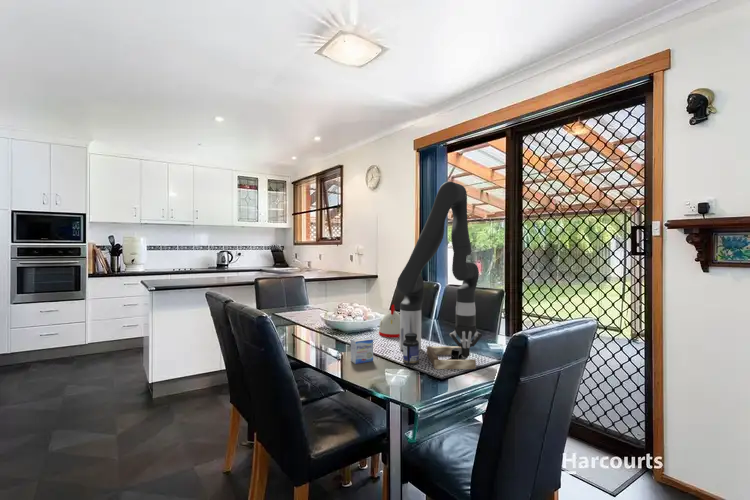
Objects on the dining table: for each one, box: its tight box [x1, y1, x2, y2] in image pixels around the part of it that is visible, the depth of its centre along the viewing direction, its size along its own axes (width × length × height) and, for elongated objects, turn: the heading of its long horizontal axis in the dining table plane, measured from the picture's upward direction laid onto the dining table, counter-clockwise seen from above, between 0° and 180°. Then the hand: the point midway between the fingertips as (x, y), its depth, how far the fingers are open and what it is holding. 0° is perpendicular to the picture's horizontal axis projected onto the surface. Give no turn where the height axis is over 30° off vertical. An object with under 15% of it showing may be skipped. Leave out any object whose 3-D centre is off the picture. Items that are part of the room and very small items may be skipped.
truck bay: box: [426, 345, 477, 370], centre depth 149 cm, size 15×19×4 cm
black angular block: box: [447, 348, 468, 360], centre depth 151 cm, size 12×7×5 cm, turn 146°
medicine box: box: [350, 337, 374, 365], centre depth 148 cm, size 8×4×9 cm, turn 117°
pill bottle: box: [402, 333, 420, 366], centre depth 146 cm, size 6×6×11 cm
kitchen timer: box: [378, 304, 400, 339], centre depth 191 cm, size 14×14×15 cm
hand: (465, 356), depth 149 cm, fingers closed
